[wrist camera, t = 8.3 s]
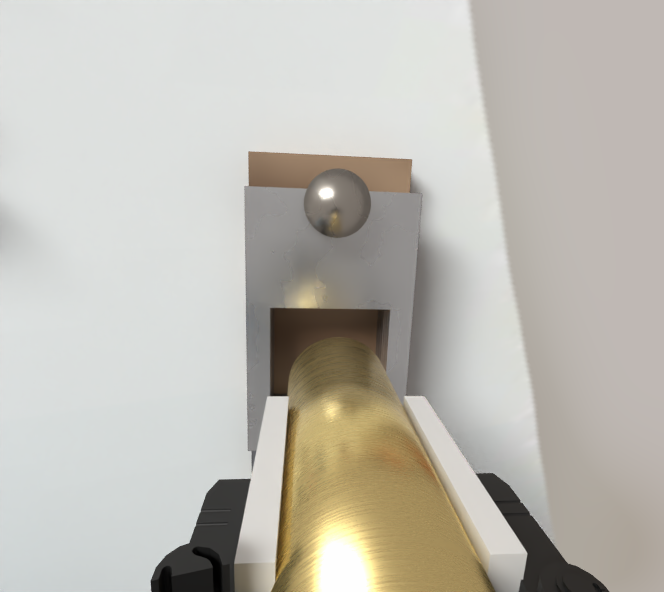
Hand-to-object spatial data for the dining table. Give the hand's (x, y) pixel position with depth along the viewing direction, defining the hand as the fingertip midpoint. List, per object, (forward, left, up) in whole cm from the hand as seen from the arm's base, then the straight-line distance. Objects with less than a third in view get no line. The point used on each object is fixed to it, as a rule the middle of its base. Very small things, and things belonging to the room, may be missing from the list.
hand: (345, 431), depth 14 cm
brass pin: (0, 0, -4) cm, 4 cm away
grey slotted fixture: (0, 0, -10) cm, 10 cm away
